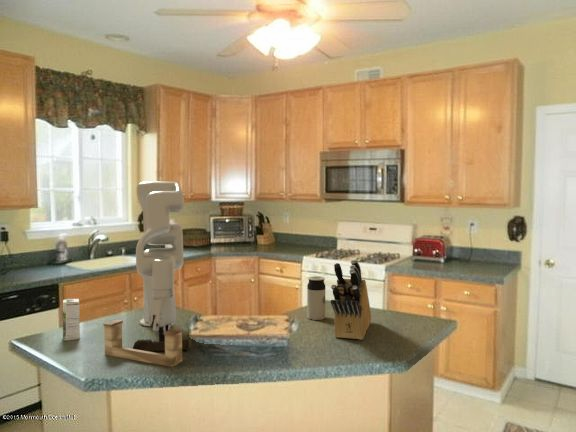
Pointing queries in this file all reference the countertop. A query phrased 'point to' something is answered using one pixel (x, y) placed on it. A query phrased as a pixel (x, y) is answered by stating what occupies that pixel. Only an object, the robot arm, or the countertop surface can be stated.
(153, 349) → the hand tool
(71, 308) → the syrup box
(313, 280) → the travel mug
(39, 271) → the countertop surface
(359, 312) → the knife block
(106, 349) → the wooden u-shaped stand
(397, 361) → the countertop surface
